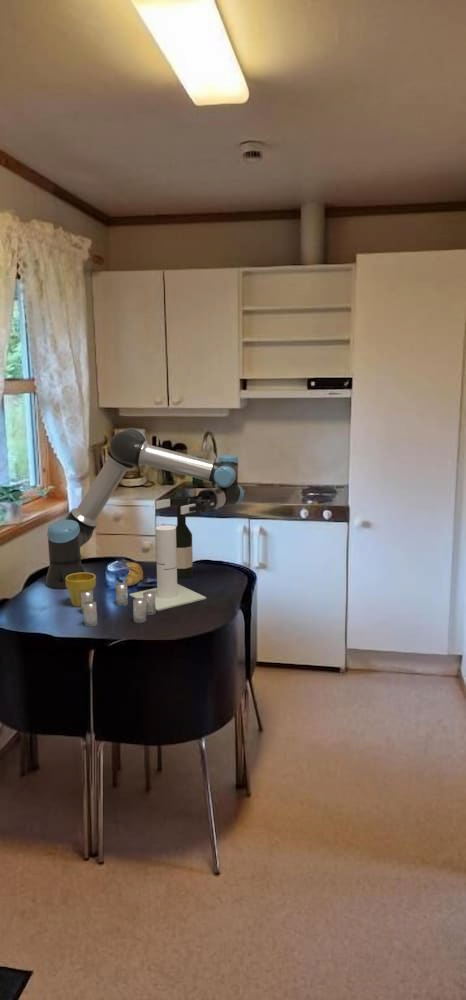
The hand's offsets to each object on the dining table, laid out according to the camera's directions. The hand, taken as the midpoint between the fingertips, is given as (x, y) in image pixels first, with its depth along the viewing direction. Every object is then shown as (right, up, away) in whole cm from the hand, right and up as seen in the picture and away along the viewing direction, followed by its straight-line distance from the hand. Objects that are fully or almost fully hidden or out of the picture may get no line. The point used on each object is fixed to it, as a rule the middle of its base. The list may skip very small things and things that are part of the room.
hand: (168, 507), depth 239 cm
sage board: (-1, -32, +3) cm, 32 cm away
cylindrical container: (-1, -32, +3) cm, 32 cm away
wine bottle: (+3, -27, +27) cm, 39 cm away
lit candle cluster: (-16, -36, -15) cm, 42 cm away
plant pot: (-30, -34, -3) cm, 45 cm away
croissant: (-17, -29, +23) cm, 41 cm away
